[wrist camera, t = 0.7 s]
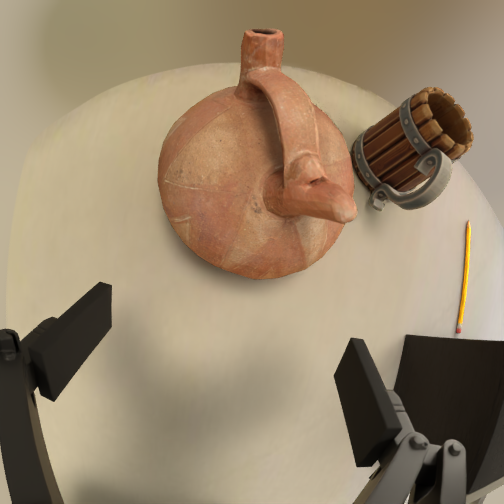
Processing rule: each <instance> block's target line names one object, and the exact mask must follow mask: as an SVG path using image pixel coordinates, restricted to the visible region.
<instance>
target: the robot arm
mask: <svg viewBox="0 0 504 504" xmlns="http://www.w3.org/2000/svg"><path fill="white" fill-rule="evenodd" d="M111 302H112V285H110V284H106V283H103V282H99V283H98V284H97V285H95V286H94V287H93V288H92V289H91V290H90V291H88V292H87V293H86V294H85V295H84V296H83V297H82V298H80V299H79V300H78V301H77V302H76V303H75V304H74V305H72V306H71V307H70V308H69V309H68V310H67V311H66V312H65V313H64V314H62V315H61V316H60V317H59V318H58V319H57V318H55V317H50V318H48V319H46V320H44V321H42V322H41V323H40V324H39V325H38V326H37V327H36V328H35V329H33V331H31V332H30V333H29V334H28V335H27V336H26V337H25V338H24V339H22V340H21V341H20V340H19V336H18V333H17V332H15V331H14V330H11V329H2V330H0V446H1V452H2V459H3V464H4V470H5V475H6V480H7V484H8V488H9V492H10V496H11V501H12V504H64V502H63V499H62V497H61V494H60V491H59V488H58V485H57V482H56V479H55V476H54V473H53V470H52V467H51V464H50V460H49V457H48V453H47V449H46V445H45V441H44V437H43V433H42V429H41V424H40V420H39V415H38V409H37V404H36V398H35V394H34V390H35V389H36V388H37V387H38V388H39V391H40V394H41V396H43V397H45V398H47V399H49V400H51V401H53V402H55V400H56V399H57V397H58V396H59V395H60V393H61V392H62V391H63V389H64V388H65V387H66V385H67V384H68V383H69V381H70V380H71V379H72V377H73V376H74V375H75V373H76V372H77V371H78V369H79V368H80V367H81V365H82V364H83V363H84V362H85V360H86V359H87V358H88V356H89V355H90V354H91V353H92V351H93V350H94V349H95V347H96V346H97V345H98V344H99V342H100V341H101V340H102V339H103V337H104V336H105V335H106V334H107V332H108V331H109V330H110V329H111V327H112V316H111ZM334 379H335V383H336V386H337V390H338V394H339V398H340V402H341V405H342V409H343V413H344V417H345V421H346V425H347V429H348V433H349V437H350V441H351V446H352V450H353V454H354V458H355V463H356V467H372V466H373V464H374V463H375V462H376V461H377V460H379V464H380V466H379V467H378V468H377V470H376V471H375V472H374V473H373V474H372V475H371V476H370V477H369V479H370V480H369V482H368V483H367V485H366V486H365V487H364V489H363V490H362V492H361V493H360V494H359V496H358V497H357V499H356V500H355V501H354V503H353V504H404V502H405V500H406V498H407V497H408V495H409V493H410V495H409V500H408V504H466V451H465V448H464V446H463V445H462V444H461V443H460V442H459V441H456V440H453V439H450V440H447V441H446V442H445V443H444V444H443V445H442V446H439V445H433V444H429V441H428V439H427V438H426V437H425V436H424V435H422V434H421V433H418V432H415V431H414V429H413V426H412V424H411V422H410V420H409V417H408V415H407V413H406V412H405V409H404V406H402V405H403V404H402V402H401V400H400V398H399V396H398V395H397V394H396V393H395V392H394V391H393V390H386V388H385V386H384V383H383V381H382V379H381V377H380V374H379V372H378V370H377V368H376V366H375V364H374V361H373V359H372V357H371V355H370V353H369V351H368V349H367V346H366V344H365V342H364V340H363V339H357V338H350V341H349V343H348V345H347V348H346V350H345V352H344V354H343V357H342V359H341V361H340V363H339V365H338V367H337V370H336V372H335V374H334Z"/></svg>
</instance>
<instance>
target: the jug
mask: <svg viewBox="0 0 504 504" xmlns="http://www.w3.org/2000/svg"><path fill="white" fill-rule="evenodd" d="M283 50H284V34H283V33H282V32H281V31H279V30H277V29H249V30H247V31H245V33H244V37H243V41H242V45H241V72H240V80H239V84H238V86H234V87H228V88H225V89H223V90H220V91H217V92H215V93H212V94H211V95H209V96H207V97H206V98H204V99H203V100H201V101H200V102H198V103H197V104H196V105H194V106H193V107H191V108H190V109H189V110H188V111H187V112H186V113H185V114H183V115H182V116H181V117H180V118H179V119H178V120H177V121H176V122H175V123H174V124H173V126H172V127H171V129H170V131H169V133H168V135H167V136H166V138H165V140H164V142H163V146H162V149H161V153H160V157H159V164H158V186H159V190H160V195H161V199H162V204H163V208H164V210H165V213H166V215H167V217H168V219H169V221H170V223H171V225H172V227H173V229H174V230H175V231H176V233H177V234H178V235H179V237H180V238H181V239H182V241H183V242H184V243H185V244H186V245H187V246H188V247H189V248H190V249H191V250H192V251H193V252H195V253H196V254H197V255H198V256H200V257H201V258H203V259H204V260H206V261H207V262H209V263H211V264H212V265H214V266H216V267H219V268H221V269H224V270H227V271H229V272H232V273H235V274H238V275H242V276H245V277H248V278H251V279H272V278H279V277H282V276H285V275H289V274H292V273H295V272H298V271H302V270H305V269H306V268H308V267H309V266H311V265H312V264H313V263H315V262H316V261H317V260H319V259H320V258H322V257H323V256H324V254H325V253H326V252H327V251H328V250H329V249H330V247H331V246H332V245H333V244H334V243H335V241H336V239H337V238H338V236H339V234H340V232H341V230H342V229H343V227H344V225H345V223H347V222H350V221H352V220H353V219H354V218H355V217H356V216H357V211H358V210H357V208H356V205H355V203H354V200H353V192H354V178H353V170H352V162H351V157H350V154H349V151H348V148H347V146H346V143H345V140H344V138H343V135H342V134H341V132H340V131H339V130H338V128H337V127H336V126H335V124H334V123H333V122H332V121H331V119H330V118H329V117H328V115H327V114H325V113H324V112H323V111H322V110H320V109H319V108H318V107H317V106H315V105H314V104H313V103H312V102H311V100H310V98H309V97H308V95H307V94H306V93H305V91H304V90H303V89H302V88H301V87H300V86H299V85H298V84H297V83H296V82H295V81H293V80H292V79H291V78H289V77H287V76H285V75H284V74H283V73H281V61H282V55H283Z"/></svg>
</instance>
